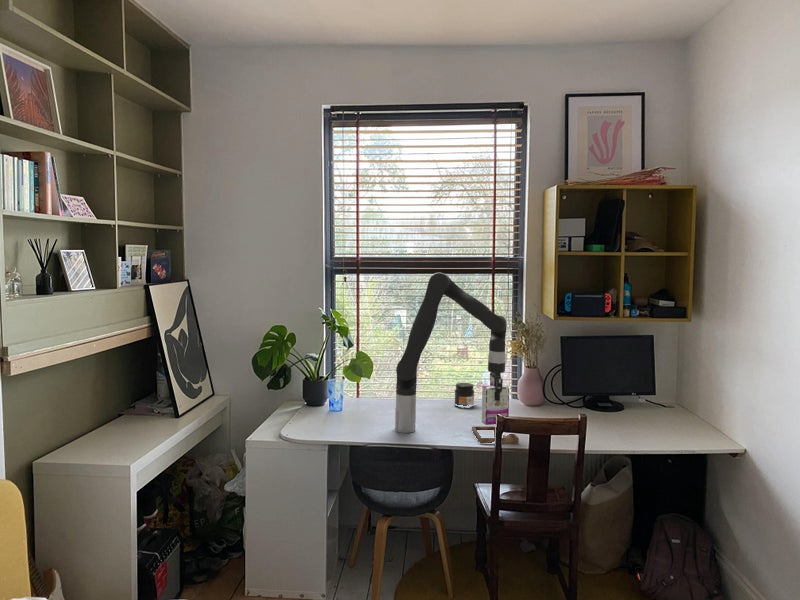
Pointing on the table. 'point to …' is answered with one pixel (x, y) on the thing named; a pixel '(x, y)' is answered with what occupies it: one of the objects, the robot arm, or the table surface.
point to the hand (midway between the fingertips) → (495, 398)
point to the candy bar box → (494, 404)
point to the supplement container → (464, 394)
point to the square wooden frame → (505, 440)
